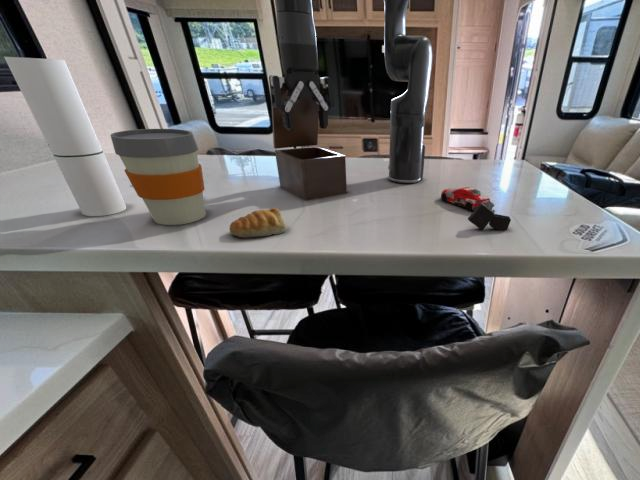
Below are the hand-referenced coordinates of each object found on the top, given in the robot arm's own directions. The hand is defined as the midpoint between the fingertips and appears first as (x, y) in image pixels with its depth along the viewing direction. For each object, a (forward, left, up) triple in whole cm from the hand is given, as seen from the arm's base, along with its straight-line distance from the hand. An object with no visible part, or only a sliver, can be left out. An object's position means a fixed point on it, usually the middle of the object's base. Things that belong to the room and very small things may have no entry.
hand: (307, 129), depth 78 cm
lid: (0, -4, +2) cm, 5 cm away
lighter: (-16, +43, -14) cm, 48 cm away
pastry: (+21, +19, -14) cm, 32 cm away
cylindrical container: (+42, -9, -14) cm, 45 cm away
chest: (0, 0, -14) cm, 14 cm away
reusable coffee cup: (+31, +3, -14) cm, 34 cm away
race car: (-24, +30, -14) cm, 41 cm away
